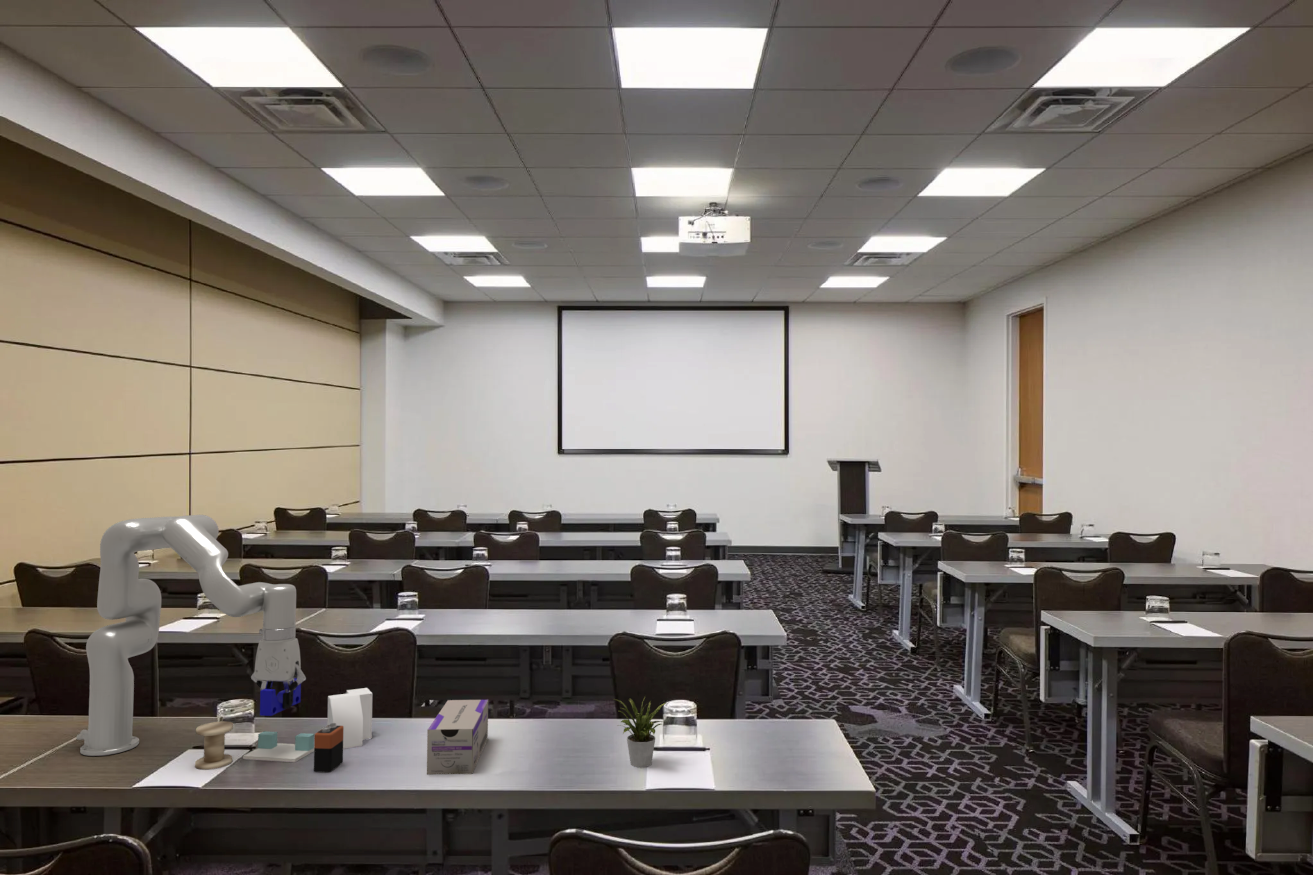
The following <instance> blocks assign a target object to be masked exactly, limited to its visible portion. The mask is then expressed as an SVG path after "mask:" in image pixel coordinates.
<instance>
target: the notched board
mask: <svg viewBox="0 0 1313 875" xmlns="http://www.w3.org/2000/svg"><path fill="white" fill-rule="evenodd" d="M314 738H315V733H304V732H300V733H299V734H297V735H295V736H294V740H295V741H294V743H282V742H278V731H269V730H268V731H266V730H264V731H262V732H260V733H258V736H257V748H256V749H254V750H251V751H250V752H248V753H246V754H244V755H243V756H242V758H243V760H251V761H267V762H270V761H271V762H283V763H284V762H285V763H296V762H298V761H299V760H302V759H303V758H304V757H307V756H308V755H310V754H311V753H314Z"/></svg>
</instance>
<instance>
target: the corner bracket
mask: <svg viewBox="0 0 1313 875" xmlns="http://www.w3.org/2000/svg"><path fill="white" fill-rule="evenodd" d="M331 723H336V726H343V750H344V749H345V750H346V749H351V748H357V747H362V746H363V741H365V739H366V740H370V739H369V738H372V732H373V730H372V729H373V692H372V691H371V690H370V689H369V688H368V687H364V688H355V689H346V693H343V694H341V693H340V694H333V695H328V696H327V725H326V726H328V725H329V724H331Z"/></svg>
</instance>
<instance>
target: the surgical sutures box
mask: <svg viewBox="0 0 1313 875" xmlns="http://www.w3.org/2000/svg"><path fill="white" fill-rule="evenodd" d="M488 734H489V699H452V700H451V699H447V701H446V702H445V704H444V705H443V706H442V708H441V710H440V711H439V712H438V714H437V715H436V717H435V718H434V719H433V721H432V723H431V724H430V726H429V727H428V728H427V734H426V737H427V739H426V741H427V743H426V775H429V776H430V775H472V774H474V771H475V769H476V767H477V765H478V762H479V759H480V757H481V756H482V753H483V750H484V749H485V746H486V744H487V742H488V740H489V738H488Z"/></svg>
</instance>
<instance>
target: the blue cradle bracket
mask: <svg viewBox="0 0 1313 875" xmlns="http://www.w3.org/2000/svg"><path fill="white" fill-rule="evenodd" d="M295 680H297V677H296V678H294V681H295ZM301 690H302V683H300V684H299V685H298V686H297V687H296V689H295V690H293V704H292V706H291V707H293V706H296V705H297V704H299V703H301V701H302V700H301V697H302V694H301V693H302V692H301ZM259 693H260V694H259V695H260V696H259V697H260V698H259V700H260V702H259V716H268V717H269V716H270V717H272V716H274V715H276V714H278V713H280V712H282V711H285V710H286V709H283V693H285V689H284V690H281V691H278V692H277V693H276V689H273V688H271V689H263V690H261V689H260V692H259Z"/></svg>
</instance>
